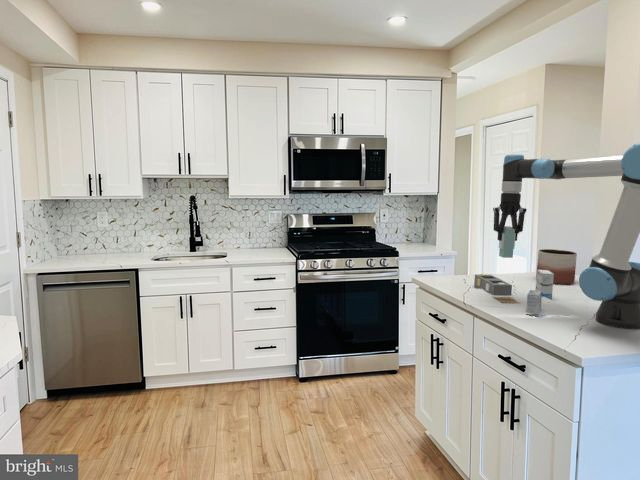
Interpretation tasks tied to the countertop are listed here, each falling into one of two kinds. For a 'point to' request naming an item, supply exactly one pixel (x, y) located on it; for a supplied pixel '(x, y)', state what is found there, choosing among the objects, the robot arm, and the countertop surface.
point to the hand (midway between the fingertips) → (506, 248)
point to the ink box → (545, 283)
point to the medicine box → (534, 302)
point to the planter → (558, 264)
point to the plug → (508, 243)
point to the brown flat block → (506, 300)
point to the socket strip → (492, 284)
